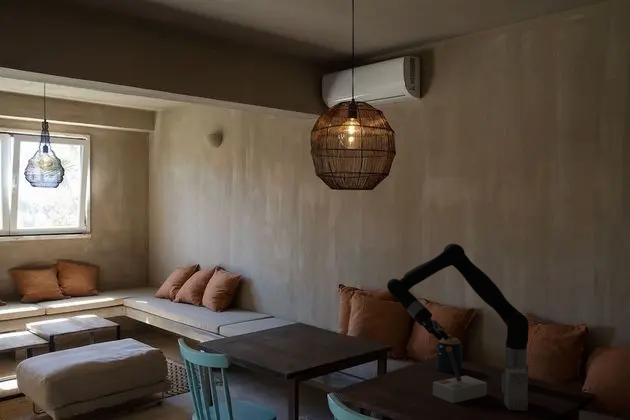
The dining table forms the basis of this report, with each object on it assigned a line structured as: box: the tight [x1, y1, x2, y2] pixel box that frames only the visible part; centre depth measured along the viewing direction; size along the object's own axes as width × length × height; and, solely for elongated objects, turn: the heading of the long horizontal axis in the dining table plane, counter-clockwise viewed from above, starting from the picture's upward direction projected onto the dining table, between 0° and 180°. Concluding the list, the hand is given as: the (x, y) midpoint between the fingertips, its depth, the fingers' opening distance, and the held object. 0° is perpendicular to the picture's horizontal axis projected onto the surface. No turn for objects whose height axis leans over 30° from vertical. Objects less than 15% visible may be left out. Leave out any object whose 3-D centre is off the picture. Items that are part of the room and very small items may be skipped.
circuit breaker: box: [501, 366, 529, 411], centre depth 237 cm, size 8×14×15 cm, turn 174°
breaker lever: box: [446, 346, 462, 382], centre depth 250 cm, size 3×3×15 cm
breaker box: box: [432, 375, 488, 404], centre depth 247 cm, size 20×12×6 cm, turn 121°
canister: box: [435, 333, 464, 374], centre depth 286 cm, size 13×13×18 cm
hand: (444, 339), depth 254 cm, fingers open, 8 cm apart
